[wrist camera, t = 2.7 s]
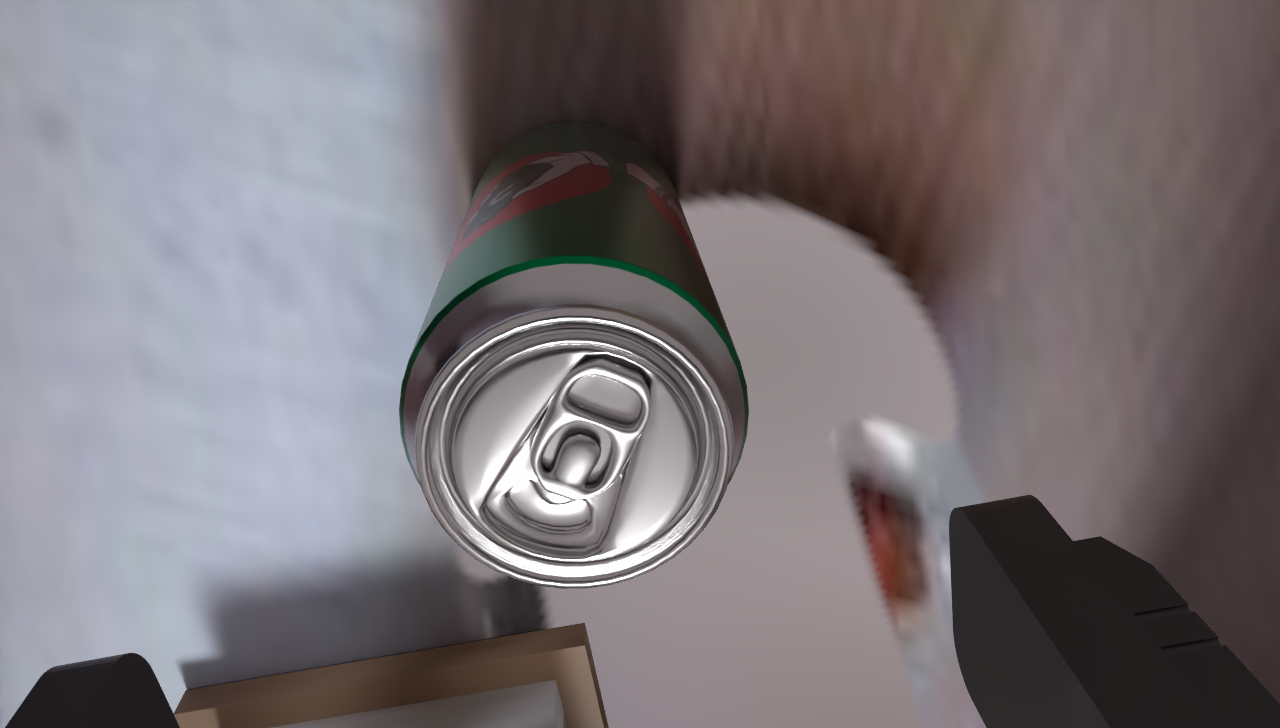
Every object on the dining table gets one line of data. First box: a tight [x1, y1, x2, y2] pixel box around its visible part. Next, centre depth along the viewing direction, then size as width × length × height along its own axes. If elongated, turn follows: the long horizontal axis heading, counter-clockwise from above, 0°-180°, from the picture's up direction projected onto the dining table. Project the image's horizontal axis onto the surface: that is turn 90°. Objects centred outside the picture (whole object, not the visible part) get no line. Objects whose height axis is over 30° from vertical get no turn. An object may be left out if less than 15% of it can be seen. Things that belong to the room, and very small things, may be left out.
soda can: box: [399, 122, 749, 588], centre depth 19 cm, size 5×5×12 cm
